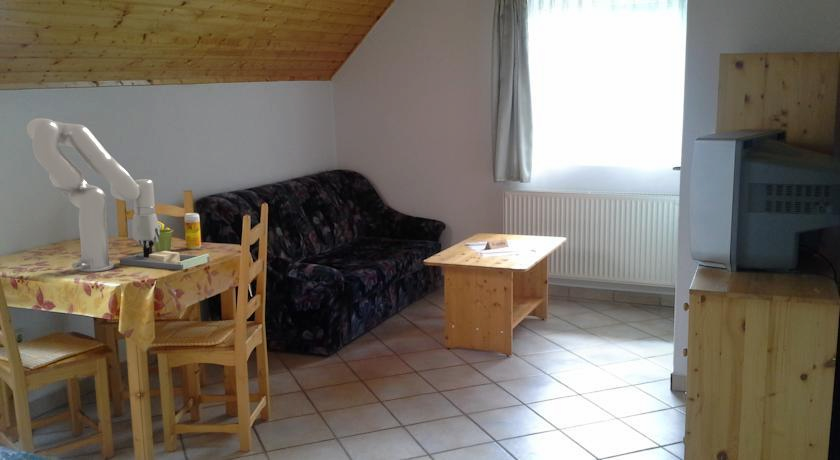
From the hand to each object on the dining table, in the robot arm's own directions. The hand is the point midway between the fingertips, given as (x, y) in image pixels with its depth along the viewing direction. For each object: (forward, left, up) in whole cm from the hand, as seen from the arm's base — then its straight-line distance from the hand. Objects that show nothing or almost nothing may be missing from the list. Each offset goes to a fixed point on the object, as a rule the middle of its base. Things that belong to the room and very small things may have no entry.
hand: (148, 256), depth 303 cm
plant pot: (+18, +9, -2) cm, 20 cm away
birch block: (0, -8, -2) cm, 9 cm away
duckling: (+32, +23, -2) cm, 39 cm away
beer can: (+28, +1, -2) cm, 28 cm away
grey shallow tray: (0, -8, -2) cm, 8 cm away
